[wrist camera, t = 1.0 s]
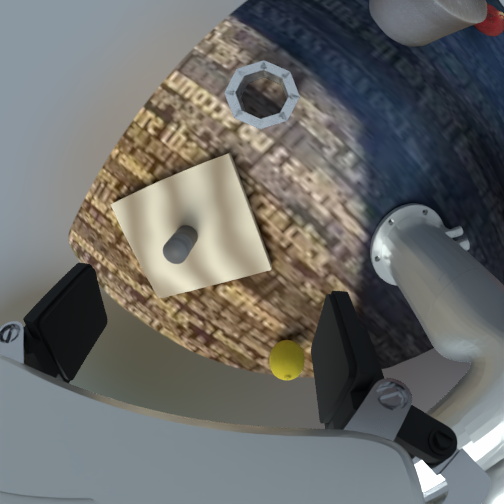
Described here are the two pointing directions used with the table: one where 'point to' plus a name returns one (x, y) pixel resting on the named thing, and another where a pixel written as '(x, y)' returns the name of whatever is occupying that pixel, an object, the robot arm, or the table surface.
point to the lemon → (286, 360)
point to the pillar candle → (425, 18)
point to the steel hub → (254, 74)
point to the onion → (491, 22)
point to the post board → (208, 217)
